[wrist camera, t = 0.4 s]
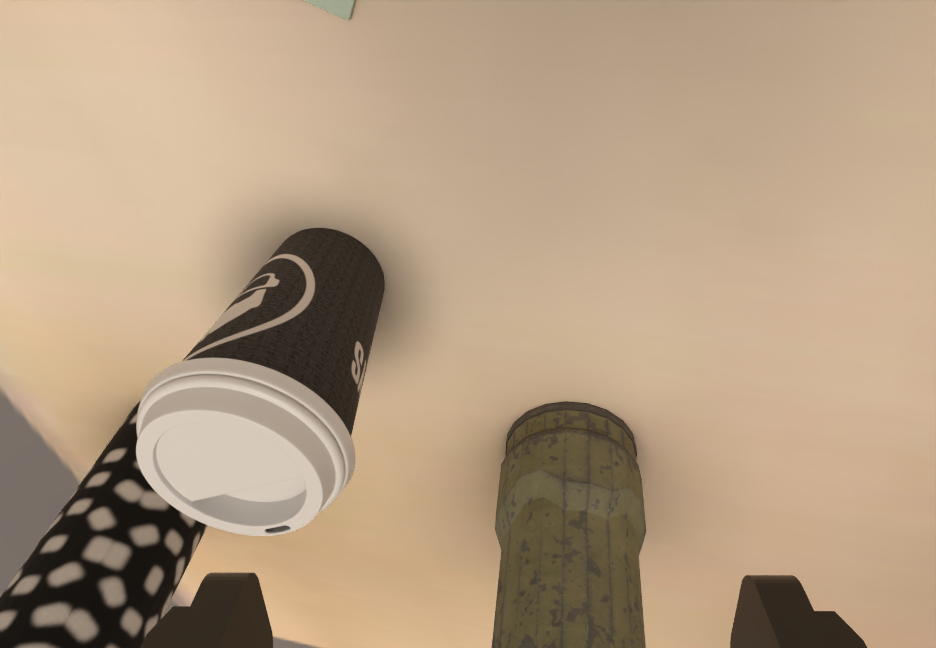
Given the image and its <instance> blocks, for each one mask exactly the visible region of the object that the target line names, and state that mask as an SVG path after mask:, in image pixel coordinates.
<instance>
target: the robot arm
mask: <svg viewBox="0 0 936 648" xmlns="http://www.w3.org/2000/svg"><path fill="white" fill-rule="evenodd" d="M140 648H273V636H272V630H271V626H270V622H269V618H268V614H267V610H266V607H265V603H264V599H263V595H262V591H261V587H260V583H259V580H258V577H257V575H256V574H255V573H209V574H207V575H206V576H205V578H204V579H203V581H202V583H201V585H200V587H199V589H198V591H197V593H196V595H195V597H194V600H193V602H192V604H191V606H190V607H176V606H175V607H172V608H171V610H170V611H169V612H168V613H167V614H166V615H165V616H164V617H163V618H162V619H161V620H160V621H159V622H158V623H157V624H156V625H155V626H154V627H153V628H152V629H151V630H150V631H149V632H148V633H147V635H146V637H145V639H144V641H143V643H142V645H141V647H140ZM730 648H867V646H866V645H865V643H864V641H863V640H862V639H861V638H860V637H859V636H858V635H857V634H856V633H855V632H854V631H853V629H852V628H851V627H850V626H849V625H848V624H847V623H846V622H845V621H844V620H843V619H842V618H841V617H840V616H839V615H838V614H837V613H836V612H835V611H814V610H813V608H812V606H811V604H810V601H809V599H808V597H807V595H806V593H805V591H804V589H803V587H802V585H801V583H800V581H799V580H798V579H797V578H796V577H795V576H791V575H746V576H745V577H744V578H743V580H742V584H741V589H740V594H739V599H738V604H737V609H736V614H735V618H734V623H733V628H732V633H731V642H730Z"/></svg>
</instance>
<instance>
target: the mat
mask: <svg viewBox="0 0 936 648" xmlns="http://www.w3.org/2000/svg"><path fill="white" fill-rule="evenodd" d="M303 1H305V2H307V3H310V4H312V5H314V6H316V7H319V8H321V9H323V10H325V11H328V12H330V13H332V14H334V15H337V16H339V17H341V18H343V19H346V20H348V21H349V20H350V18H351V15H352V12H353V8H354V4H355V1H356V0H303Z"/></svg>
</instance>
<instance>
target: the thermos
mask: <svg viewBox="0 0 936 648" xmlns="http://www.w3.org/2000/svg"><path fill="white" fill-rule="evenodd" d="M636 456H637V451H636V445H635V441H634V437H633V433H632V432H631V431H630V429H629V428H628V427H627V426H626V424H625V423H624V422H623V421H622V420H621V419H619V418H618V417H617V416H615V415H614V414H612V413H611V412H609V411H608V410H605V409H602V408H599V407H596V406H593V405H590V404H586V403H575V402H560V403H553V404H545V405H543V406H540V407H538V408H535V409H533V410H530V411H528V412H526V413H525V414H524V415H523V416H522V417H520V418H519V419H518V420H517V421H515V422H514V424H513V426H512V428H511V429H510V431H509V433H508V435H507V442H506V458H505V459H504V461H503V463H502V465H501V474H500V483H499V492H498V501H497V510H496V522H495V530H496V534H497V537H498V540H499V544H500V547H501V560H500V571H499V581H498V591H497V601H496V611H495V621H494V631H493V641H492V648H646V647H645V634H644V621H643V608H642V595H641V582H640V569H639V553H640V550H641V548H642V544H643V541H644V537H645V534H646V524H645V513H644V502H643V490H642V479H641V475H640V471H639V467H638V464H637V462H636Z"/></svg>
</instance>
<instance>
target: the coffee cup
mask: <svg viewBox="0 0 936 648" xmlns="http://www.w3.org/2000/svg"><path fill="white" fill-rule="evenodd" d="M383 293H384V276H383V272H382V269H381V267H380V265H379V263H378V261H377V259H376V258H375V256H374V255H373V254H372V253H371V252H370V250H369V249H368V248H366V247H365V246H364V245H363V244H362V243H360V242H359V241H358V240H356V239H354V238H353V237H351V236H349V235H347V234H344V233H342V232H339V231H335V230H331V229H323V228H315V229H307V230H303V231H300V232H298V233H295V234H294V235H292V236H290V237H289V238H288V239H287V240H286V241H285V242H284V243H283V244H282V245H281V246H280V247H279V248H278V250H277V251H276V252H275V253H274V254H273V255H272V257H271V258H270V259H269V260H268V261H267V262H266V264H265V265H264V266H263V267H262V268H261V270H260V271H259V272H258V273H257V274H256V275H255V277H254V278H253V279H252V280H251V281H250V283H249V284H248V285H247V286H246V287H245V288H244V290H243V291H242V292H241V293H240V294H239V295H238V297H237V298H236V299H235V300H234V301H233V303H232V304H231V305H230V306H229V307H228V308H227V310H226V311H225V312H224V313H223V314H222V315H221V317H220V318H219V319H218V320H217V321H216V322H215V324H214V325H213V326H212V327H211V328H210V330H209V331H208V332H207V333H206V334H205V335H204V336H203V338H202V339H201V340H200V341H199V342H198V343H197V345H196V346H195V347H194V348H193V349H192V350H191V352H190V353H189V354H188V355H187V356H186V357H185V358H184V360H183V361H182V362H180V363H177V364H174V365H172V366H170V367H168V368H166V369H164V370H162V371H161V372H159V373H158V374H157V375H156V376H155V377H154V378H153V379H152V380H151V381H150V382H149V383H148V385H147V386H146V388H145V390H144V392H143V395H142V398H141V402H140V405H139V408H138V413H137V424H136V430H137V437H138V440H137V444H136V457H137V461H138V465H139V467H140V470H141V472H142V474H143V476H144V477H145V479H146V480H147V482H148V483H149V484H150V486H151V487H152V488H153V489H154V490H155V491H156V492H157V493H158V494H159V495H160V496H161V497H162V498H163V499H164V500H165V501H166V502H168V503H169V504H170V505H172V506H173V507H174V508H176V509H177V510H179V511H180V512H182V513H184V514H185V515H187V516H189V517H191V518H193V519H195V520H197V521H199V522H201V523H204V524H206V525H209V526H211V527H214V528H217V529H220V530H224V531H228V532H232V533H237V534H243V535H251V536H273V535H280V534H285V533H289V532H292V531H295V530H297V529H300V528H302V527H303V526H305V525H307V524H308V523H309V522H310V521H312V520H313V519H314V518H315V516H316V515H317V514H318V513H319V512H321V511H323V510H324V509H325V508H327V507H328V506H329V505H330V504H331V503H332V502H333V501H334V500H335V499H336V498H337V497H338V496H339V495H340V494H341V492H342V491H343V490H344V488H345V487H346V485H347V484H348V482H349V481H350V479H351V477H352V475H353V472H354V468H355V449H354V445H353V441H352V439H351V434H352V429H353V425H354V420H355V416H356V411H357V407H358V402H359V398H360V393H361V389H362V385H363V380H364V376H365V371H366V367H367V363H368V358H369V354H370V350H371V345H372V341H373V336H374V332H375V328H376V323H377V319H378V315H379V310H380V306H381V302H382V297H383Z"/></svg>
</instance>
